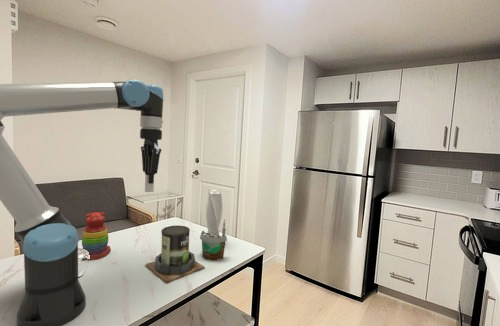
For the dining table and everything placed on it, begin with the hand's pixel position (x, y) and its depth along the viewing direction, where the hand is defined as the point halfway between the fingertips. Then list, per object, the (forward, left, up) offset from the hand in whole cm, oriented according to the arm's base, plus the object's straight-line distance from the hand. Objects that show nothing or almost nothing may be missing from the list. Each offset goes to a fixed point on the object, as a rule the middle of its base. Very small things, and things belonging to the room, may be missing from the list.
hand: (149, 191), depth 99 cm
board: (+7, -8, -29) cm, 31 cm away
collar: (+7, -8, -29) cm, 31 cm away
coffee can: (+7, -8, -28) cm, 30 cm away
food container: (+22, -10, -29) cm, 38 cm away
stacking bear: (-12, +22, -29) cm, 38 cm away
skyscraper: (+31, -1, -29) cm, 43 cm away
